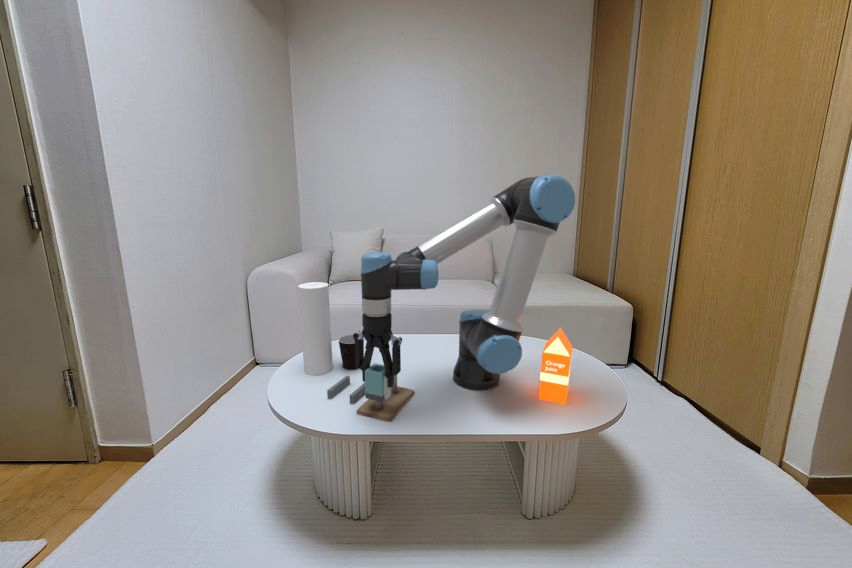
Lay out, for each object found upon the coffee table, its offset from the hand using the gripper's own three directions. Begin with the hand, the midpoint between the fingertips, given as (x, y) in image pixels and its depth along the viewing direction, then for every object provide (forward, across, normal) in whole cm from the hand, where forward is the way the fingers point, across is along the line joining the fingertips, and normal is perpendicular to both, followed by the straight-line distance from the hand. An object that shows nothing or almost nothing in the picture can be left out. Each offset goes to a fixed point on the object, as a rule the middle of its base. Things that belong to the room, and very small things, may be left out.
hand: (378, 394), depth 101 cm
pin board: (+5, 0, -5) cm, 7 cm away
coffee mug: (+5, +23, -21) cm, 31 cm away
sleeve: (0, 0, 0) cm, 0 cm away
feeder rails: (+5, +13, -6) cm, 15 cm away
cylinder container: (+5, +32, -16) cm, 36 cm away
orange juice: (+5, -44, -28) cm, 52 cm away
